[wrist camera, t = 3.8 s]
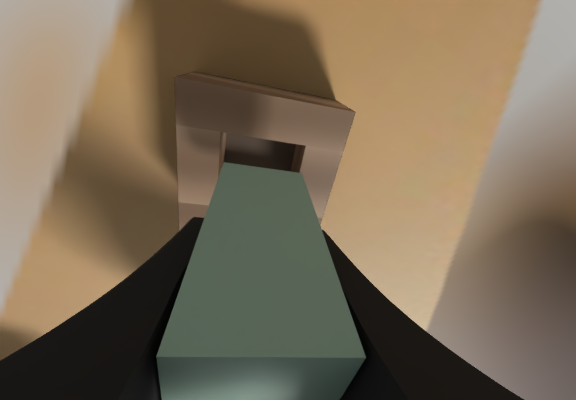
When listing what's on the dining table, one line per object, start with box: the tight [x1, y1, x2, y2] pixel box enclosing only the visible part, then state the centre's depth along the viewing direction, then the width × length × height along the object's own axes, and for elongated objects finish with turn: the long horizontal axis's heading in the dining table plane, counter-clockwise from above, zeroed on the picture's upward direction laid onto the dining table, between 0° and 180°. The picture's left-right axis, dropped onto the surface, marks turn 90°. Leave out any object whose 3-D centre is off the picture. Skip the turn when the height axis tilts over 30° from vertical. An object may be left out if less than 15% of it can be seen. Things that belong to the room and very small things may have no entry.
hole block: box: [175, 72, 356, 231], centre depth 16 cm, size 9×9×4 cm
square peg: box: [156, 162, 366, 400], centre depth 8 cm, size 4×4×8 cm
